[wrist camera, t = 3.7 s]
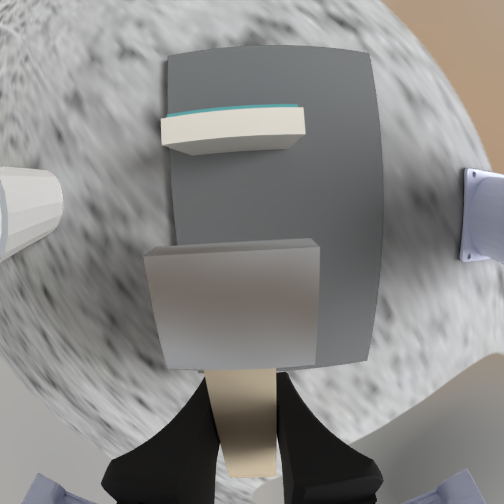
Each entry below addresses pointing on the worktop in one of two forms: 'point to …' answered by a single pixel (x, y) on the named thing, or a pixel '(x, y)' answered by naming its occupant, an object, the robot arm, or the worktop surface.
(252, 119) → the tile
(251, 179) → the mat
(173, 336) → the turner
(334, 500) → the robot arm
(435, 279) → the worktop surface
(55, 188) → the white cup
